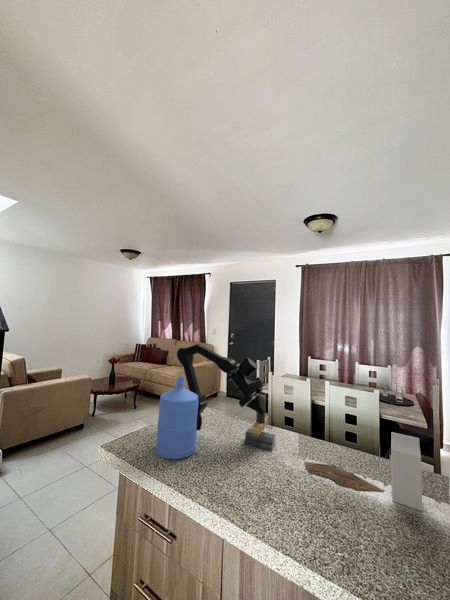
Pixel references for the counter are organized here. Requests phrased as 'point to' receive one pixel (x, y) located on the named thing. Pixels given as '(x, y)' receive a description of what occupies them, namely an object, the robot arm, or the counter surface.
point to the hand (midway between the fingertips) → (264, 412)
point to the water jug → (177, 423)
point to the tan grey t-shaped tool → (260, 418)
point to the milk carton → (406, 470)
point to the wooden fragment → (341, 476)
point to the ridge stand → (260, 440)
